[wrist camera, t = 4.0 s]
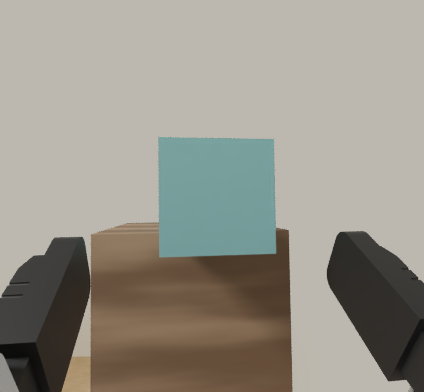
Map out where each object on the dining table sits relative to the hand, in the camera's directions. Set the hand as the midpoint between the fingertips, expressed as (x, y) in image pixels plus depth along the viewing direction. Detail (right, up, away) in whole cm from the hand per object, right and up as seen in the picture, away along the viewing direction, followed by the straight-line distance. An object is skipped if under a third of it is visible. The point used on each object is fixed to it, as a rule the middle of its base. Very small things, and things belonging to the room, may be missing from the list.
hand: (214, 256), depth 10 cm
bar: (-2, 0, +12) cm, 12 cm away
